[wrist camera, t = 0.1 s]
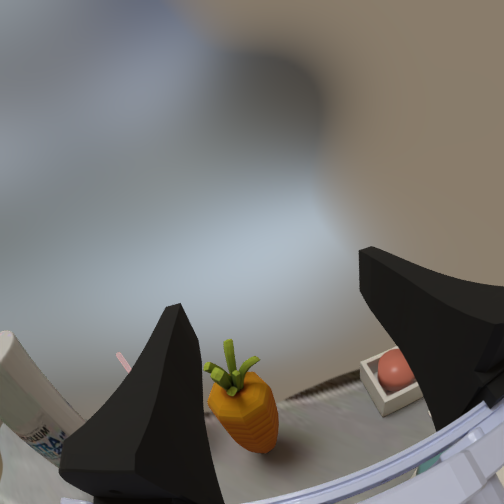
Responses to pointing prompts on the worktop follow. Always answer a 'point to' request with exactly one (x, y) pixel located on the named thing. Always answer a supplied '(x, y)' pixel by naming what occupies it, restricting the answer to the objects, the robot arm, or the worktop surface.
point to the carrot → (243, 403)
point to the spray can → (33, 402)
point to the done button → (394, 371)
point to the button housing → (381, 396)
